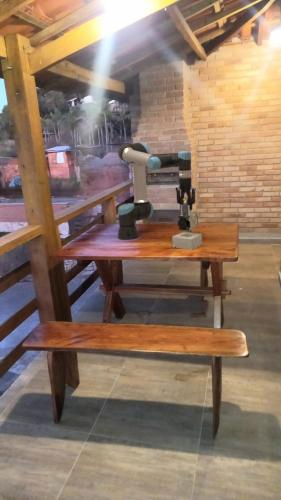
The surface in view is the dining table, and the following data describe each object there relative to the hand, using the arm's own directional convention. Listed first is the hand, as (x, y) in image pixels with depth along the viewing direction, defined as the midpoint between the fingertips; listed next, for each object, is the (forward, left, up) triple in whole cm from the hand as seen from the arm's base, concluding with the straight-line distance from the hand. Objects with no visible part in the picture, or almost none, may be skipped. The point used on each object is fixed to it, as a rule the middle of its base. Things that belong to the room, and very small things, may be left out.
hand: (186, 214), depth 240 cm
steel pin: (0, 0, -2) cm, 2 cm away
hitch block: (0, 0, -20) cm, 20 cm away
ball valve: (-10, +19, -21) cm, 30 cm away
